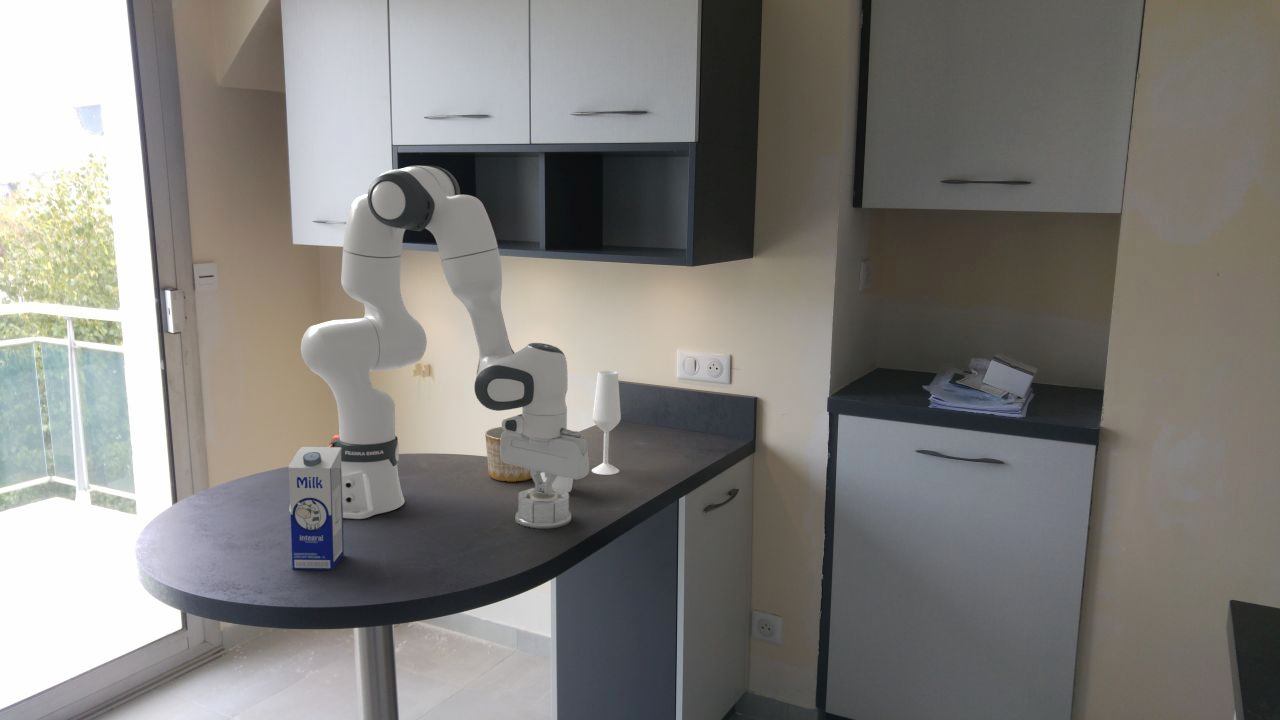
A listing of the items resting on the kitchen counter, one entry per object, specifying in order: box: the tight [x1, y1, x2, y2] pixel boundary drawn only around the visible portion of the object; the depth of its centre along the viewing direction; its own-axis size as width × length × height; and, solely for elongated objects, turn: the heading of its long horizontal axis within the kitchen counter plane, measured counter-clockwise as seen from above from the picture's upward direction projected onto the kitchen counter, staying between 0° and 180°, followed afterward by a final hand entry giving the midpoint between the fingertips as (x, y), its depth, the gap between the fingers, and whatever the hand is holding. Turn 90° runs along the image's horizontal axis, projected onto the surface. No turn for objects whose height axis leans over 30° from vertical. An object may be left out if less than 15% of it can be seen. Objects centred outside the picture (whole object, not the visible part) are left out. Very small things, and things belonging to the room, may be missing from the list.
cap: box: [530, 492, 557, 501], centre depth 182 cm, size 6×6×4 cm
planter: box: [484, 426, 533, 483], centre depth 210 cm, size 13×13×10 cm
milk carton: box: [287, 446, 345, 571], centre depth 156 cm, size 7×7×20 cm
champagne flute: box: [591, 370, 622, 476], centre depth 215 cm, size 7×7×24 cm
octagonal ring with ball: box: [514, 487, 572, 530], centre depth 182 cm, size 11×11×5 cm
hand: (543, 491), depth 182 cm, fingers closed
